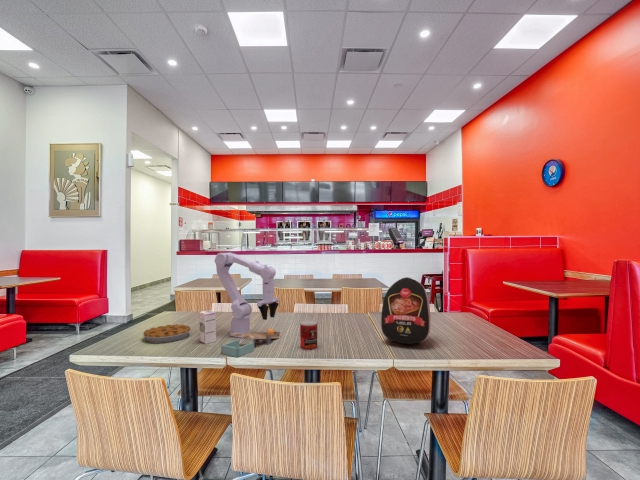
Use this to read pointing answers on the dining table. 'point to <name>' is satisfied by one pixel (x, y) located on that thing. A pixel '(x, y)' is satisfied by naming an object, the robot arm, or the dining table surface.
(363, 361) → the dining table surface
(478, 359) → the dining table surface
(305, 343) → the canned food
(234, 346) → the teal u-shaped frame
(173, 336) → the pie
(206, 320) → the syrup box
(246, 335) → the lever
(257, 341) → the fulcrum
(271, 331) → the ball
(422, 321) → the packaged food
